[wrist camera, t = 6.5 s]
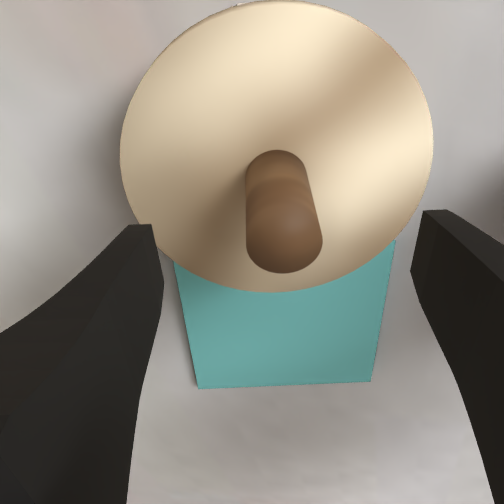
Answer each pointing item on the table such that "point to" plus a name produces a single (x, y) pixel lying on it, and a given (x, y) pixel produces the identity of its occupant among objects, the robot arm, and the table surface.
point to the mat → (285, 329)
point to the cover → (276, 146)
